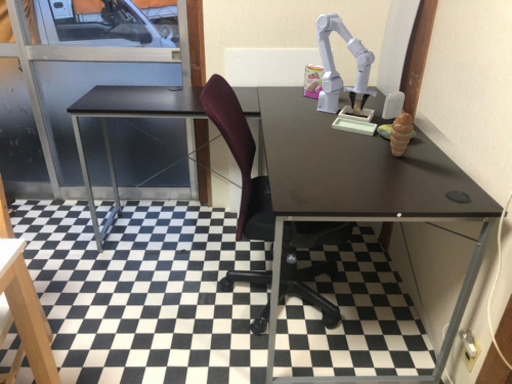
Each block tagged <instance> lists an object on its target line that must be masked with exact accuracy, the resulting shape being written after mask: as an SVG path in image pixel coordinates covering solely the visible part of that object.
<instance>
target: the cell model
mask: <svg viewBox="0 0 512 384" xmlns="http://www.w3.org/2000/svg"><path fill="white" fill-rule="evenodd" d="M392 124H393V123H392ZM392 124H381V125H380V126H378V127H377V128H376V130H377V133H378V135H380V136H381V137H383V138H385V139H388V140H390V136H391V130H392ZM416 136H417V132H416V131H415V130H414V129H413V131H412V136H411V138H410V139H412V138H416Z"/></svg>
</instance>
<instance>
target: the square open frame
mask: <svg viewBox="0 0 512 384" xmlns="http://www.w3.org/2000/svg"><path fill="white" fill-rule="evenodd" d="M351 108H352V107H351V105H344V106H343V108H342V109H341V111H339V113H338V115H337V117H338V118H343V119H349V120H355V121H361V122H366V123H371V121H372V119H373V118H374V113H375V109H369V108H364V107H363V110H361V112H360V114H359V115H360V116H366V117H367V118H366V117H360V116H355V115H350V114H353V109H351ZM346 113H349V115H348V114H346Z"/></svg>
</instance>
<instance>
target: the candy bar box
mask: <svg viewBox="0 0 512 384" xmlns="http://www.w3.org/2000/svg"><path fill="white" fill-rule="evenodd" d="M323 76H324V69H323V65H322V66H321V65H317V64H313V63H308V64H306V65H305V69H304V78H303V88H302V97H306V98H311V99H315V100H318V98H319V94H320V92H321V91H323V89H322V83H323V82H322V78H323Z"/></svg>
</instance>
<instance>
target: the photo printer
mask: <svg viewBox="0 0 512 384" xmlns="http://www.w3.org/2000/svg"><path fill="white" fill-rule="evenodd" d="M405 98H406V96H405V93H404V92H402V91H396V90H395V91H393V92H390V93H388V94H387V95H386V96H385V100H384V106H383V111H382V115H381V118H382V119H384V120H392V119H396V118H397V117H398V116H399V115H400V114H401V112H402V110H403V107H404V102H405Z"/></svg>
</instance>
